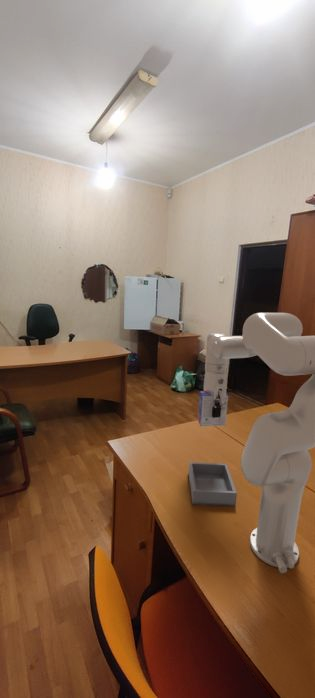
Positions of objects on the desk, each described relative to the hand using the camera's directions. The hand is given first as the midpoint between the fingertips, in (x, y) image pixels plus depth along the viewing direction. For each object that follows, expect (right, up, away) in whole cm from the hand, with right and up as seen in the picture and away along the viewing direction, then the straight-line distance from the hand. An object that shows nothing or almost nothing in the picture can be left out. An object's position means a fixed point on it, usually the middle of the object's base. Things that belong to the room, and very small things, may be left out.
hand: (212, 413), depth 113 cm
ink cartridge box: (0, -4, +1) cm, 4 cm away
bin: (-2, -25, -7) cm, 26 cm away
